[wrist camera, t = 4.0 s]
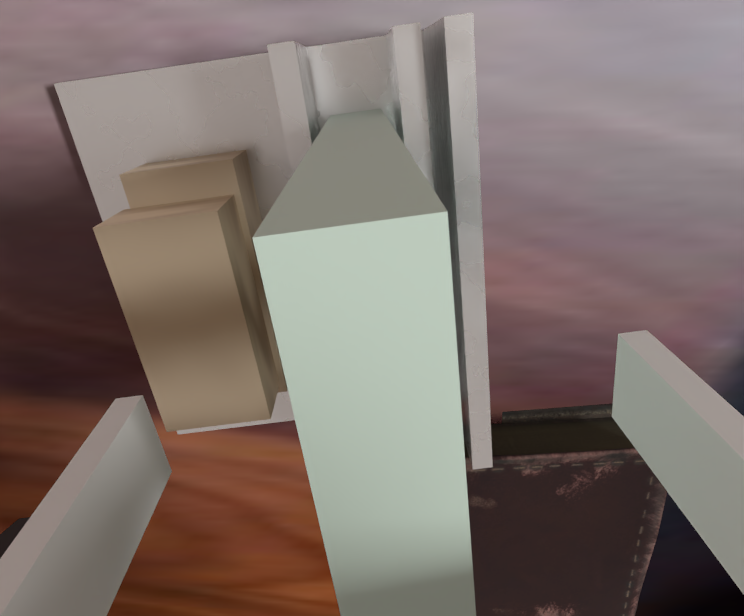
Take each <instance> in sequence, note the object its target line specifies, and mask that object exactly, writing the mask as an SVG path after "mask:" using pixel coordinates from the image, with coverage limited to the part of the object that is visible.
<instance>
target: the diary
mask: <svg viewBox="0 0 744 616" xmlns="http://www.w3.org/2000/svg"><path fill="white" fill-rule="evenodd" d="M612 406H613V404H601V405H588V406H575V407H562V408H549V409H536V410H523V411H510V412H503V413H502V423H501V424H491V440H492V463H493V467H490V468H482V469H472V465H471V462H470V458H469V455H468V451H467V448H466V445H465V441H464V451H465V465H466V479H467V493H468V507H469V521H470V535H471V550H472V564H473V578H474V592H475V606H476V616H635V614H636V609H637V604H638V600H639V595H640V592H641V588H642V585H643V581H644V578H645V575H646V571H647V568H648V565H649V562H650V558H651V555H652V552H653V549H654V545H655V542H656V539H657V536H658V531H659V526H660V522H661V517H662V513H663V508H664V504H665V499H666V494H667V490H666V489H665V488H664V486H663V485H662V484H661V482H660V481H659V480H658V478H657V477H656V476H655V474H654V473H653V472H652V470H651V469H650V467H649V466H648V465H647V463H646V462H645V461H644V459H643V458H642V457H641V455H640V454H639V453H638V451H637V450H636V449H635V447H634V446H633V445H632V443H631V442H630V440H629V439H628V438H627V436H626V435H625V434H624V432H623V431H622V430H621V428H620V427H619V426H618V424H617V423H616V422H615V420H614V419H613V418H612Z"/></svg>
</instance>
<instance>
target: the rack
mask: <svg viewBox="0 0 744 616" xmlns="http://www.w3.org/2000/svg"><path fill="white" fill-rule="evenodd" d="M267 48H268V53H262V54H255V55H248V56H241V57H234V58H227V59H221V60H214V61H207V62H200V63H193V64H186V65H179V66H172V67H166V68H159V69H152V70H145V71H138V72H131V73H124V74H117V75H111V76H104V77H97V78H90V79H83V80H76V81H69V82H62V83H56V84H54V86H55V89H56V92H57V94H58V97H59V100H60V103H61V106H62V109H63V111H64V114H65V117H66V120H67V123H68V126H69V128H70V131H71V134H72V137H73V140H74V142H75V145H76V148H77V151H78V154H79V157H80V159H81V162H82V165H83V168H84V171H85V174H86V176H87V179H88V182H89V185H90V188H91V190H92V193H93V196H94V199H95V202H96V205H97V207H98V210H99V213H100V216H101V219H102V222H103V221H105V220H107V219H108V218H110V217H112V216H114V215H115V214H117V213H119V212H120V211H122V210H124V209H130V206H129V203H128V200H127V197H126V194H125V191H124V188H123V185H122V182H121V179H120V176H119V175H120V174H122V173H125V172H127V171H129V170H132V169H134V168H136V167H139V166H141V165H143V164H147V163H154V162H161V161H168V160H176V159H183V158H190V157H197V156H204V155H211V154H218V153H226V152H233V151H240V150H246V152H247V156H248V161H249V165H250V170H251V174H252V179H253V183H254V188H255V192H256V197H257V201H258V206H259V210H260V214H261V219H262V222H263V220H264V219H265V217H266V215H267V214H268V212H269V211H270V209H271V208H272V206H273V204H274V203H275V201H276V200H277V198H278V197H279V195H280V194H281V192H282V190H283V189H284V187H285V186H286V184H287V183H288V181H289V179H290V178H291V176H292V175H293V173H294V172H295V170H296V169H297V167H298V165H299V164H300V162H301V161H302V159H303V158H304V156H305V155H306V153H307V151H308V150H309V148H310V147H311V145H312V144H313V142H314V140H315V139H316V137H317V136H318V134H319V133H320V131H321V130H322V128H323V126H324V125H325V123H326V122H327V120H328V119H329V117H330V115H337V114H344V113H351V112H359V111H366V110H373V109H380V108H381V109H382V111H383V113H384V114H385V116H386V117H387V119H388V120H389V122H390V123H391V125H392V126H393V128H394V130H395V131H396V133H397V134H398V136H399V137H400V139H401V140H402V142H403V143H404V145H405V147H406V148H407V150H408V151H409V153H410V154H411V156H412V157H413V159H414V160H415V162H416V163H417V165H418V167H419V168H420V170H421V171H422V173H423V174H424V176H425V177H426V179H427V180H428V182H429V184H430V185H431V187H432V188H433V190H434V191H435V193H436V194H437V196H438V197H439V199H440V200H441V202H442V204H443V205H444V207H445V208H446V210H447V211H448V225H449V239H450V253H451V267H452V281H453V295H454V309H455V324H456V338H457V352H458V366H459V380H460V394H461V408H462V422H463V437H464V441H465V445H466V448H467V451H468V455H469V458H470V462H471V465H472V469H482V468H490V467H493V463H492V440H491V416H490V393H489V370H488V347H487V324H486V300H485V277H484V254H483V231H482V207H481V184H480V161H479V138H478V115H477V91H476V68H475V45H474V22H473V13H466V14H459V15H452V16H445V17H443V18H441V19H440V20H438V21H437V22H435V23H434V24H432V25H430V26H429V27H427V28H426V29H424V30H421V25H420V22H419V23H412V24H405V25H398V26H393V27H392V28H391V29H390V31H389V32H388V33H387V35H386V36H379V37H372V38H365V39H358V40H351V41H344V42H337V43H331V44H324V45H317V46H310V47H305V46H304V45H302V44H300V43H298V42H296V41H289V42H282V43H275V44H268V45H267ZM291 420H295V418H294V413H293V409H292V405H291V401H290V396H289V392H288V390H287V391H286V392H278V393H277V396H276V400H275V404H274V408H273V412H272V416H271V419H267V420H259V421H250V422H242V423H234V424H226V425H218V426H210V427H202V428H194V429H186V430H177V433H178V434H185V433H193V432H202V431H210V430H218V429H226V428H234V427H242V426H250V425H258V424H267V423H275V422H283V421H291Z"/></svg>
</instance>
